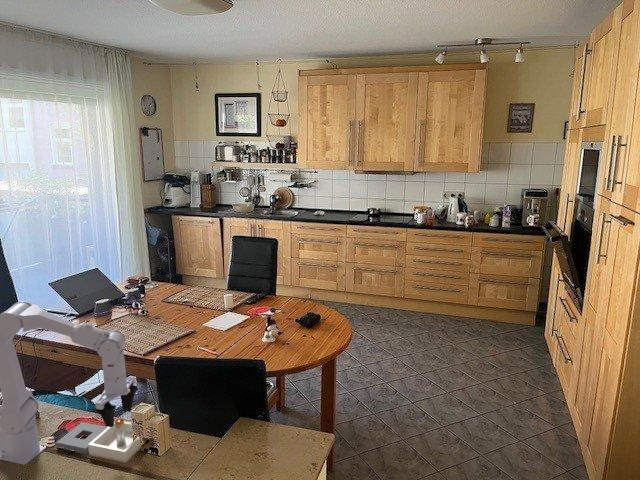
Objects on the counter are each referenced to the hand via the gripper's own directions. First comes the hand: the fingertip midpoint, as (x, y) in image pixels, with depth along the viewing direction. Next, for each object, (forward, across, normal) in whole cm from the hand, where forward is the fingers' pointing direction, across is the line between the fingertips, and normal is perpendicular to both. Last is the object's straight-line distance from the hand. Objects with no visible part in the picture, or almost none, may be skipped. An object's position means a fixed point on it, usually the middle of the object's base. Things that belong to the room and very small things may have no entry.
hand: (118, 418), depth 133 cm
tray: (+9, 0, 0) cm, 9 cm away
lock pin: (+8, 0, 0) cm, 8 cm away
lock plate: (+9, -1, +12) cm, 15 cm away
